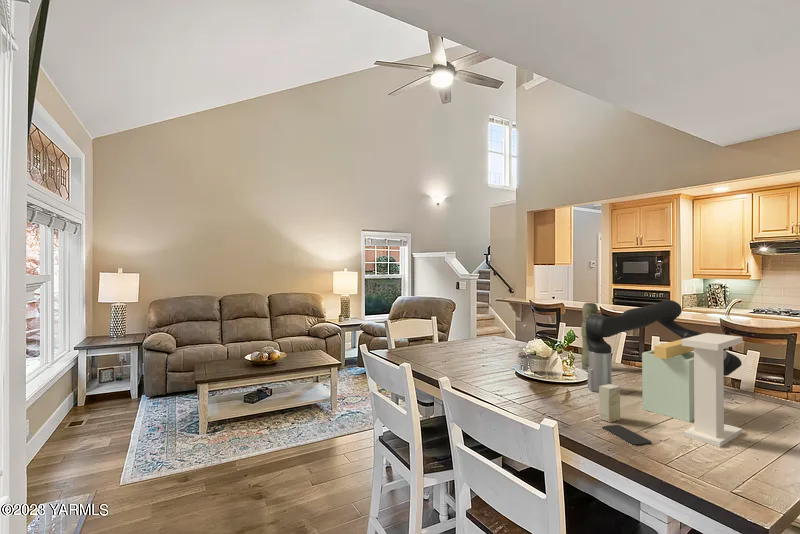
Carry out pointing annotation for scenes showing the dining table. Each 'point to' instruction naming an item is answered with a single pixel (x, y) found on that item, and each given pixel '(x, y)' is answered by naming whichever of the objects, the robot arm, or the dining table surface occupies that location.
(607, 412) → the skincare box
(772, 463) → the dining table surface
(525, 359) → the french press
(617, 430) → the phone
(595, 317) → the robot arm
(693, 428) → the shelf stand
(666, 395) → the tote
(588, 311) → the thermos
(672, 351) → the box
